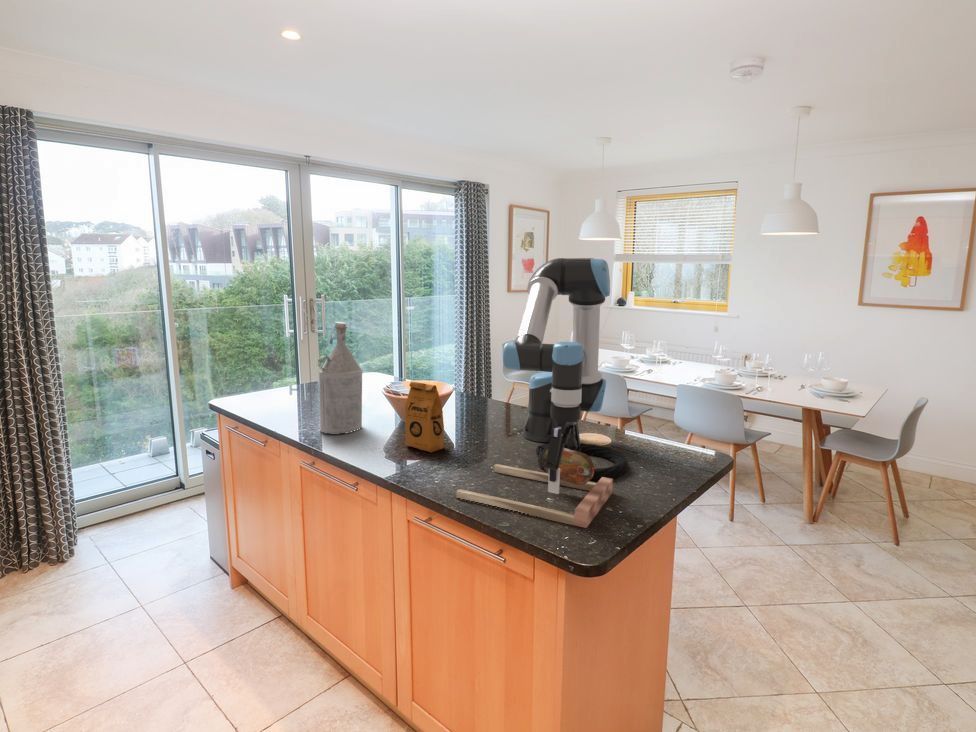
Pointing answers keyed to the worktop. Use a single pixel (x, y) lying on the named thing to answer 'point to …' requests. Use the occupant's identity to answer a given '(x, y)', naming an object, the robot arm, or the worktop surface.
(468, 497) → the stop channel
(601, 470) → the cable lock
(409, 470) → the worktop surface
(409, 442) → the coffee package
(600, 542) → the worktop surface
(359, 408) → the grey jug bottle
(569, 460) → the tin
